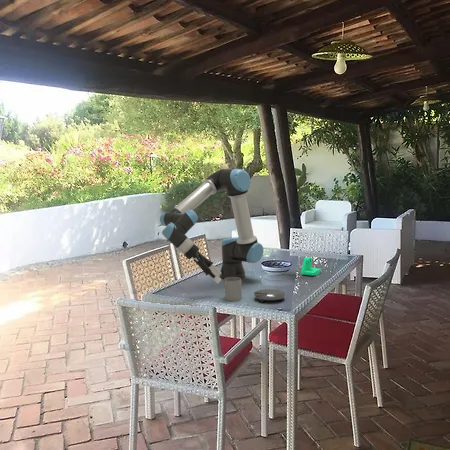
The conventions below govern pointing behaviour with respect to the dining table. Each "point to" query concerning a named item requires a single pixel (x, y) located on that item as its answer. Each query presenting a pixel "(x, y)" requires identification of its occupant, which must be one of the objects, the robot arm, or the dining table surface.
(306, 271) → the camera mount
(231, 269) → the robot arm
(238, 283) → the cup
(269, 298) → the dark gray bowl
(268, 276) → the dining table surface
